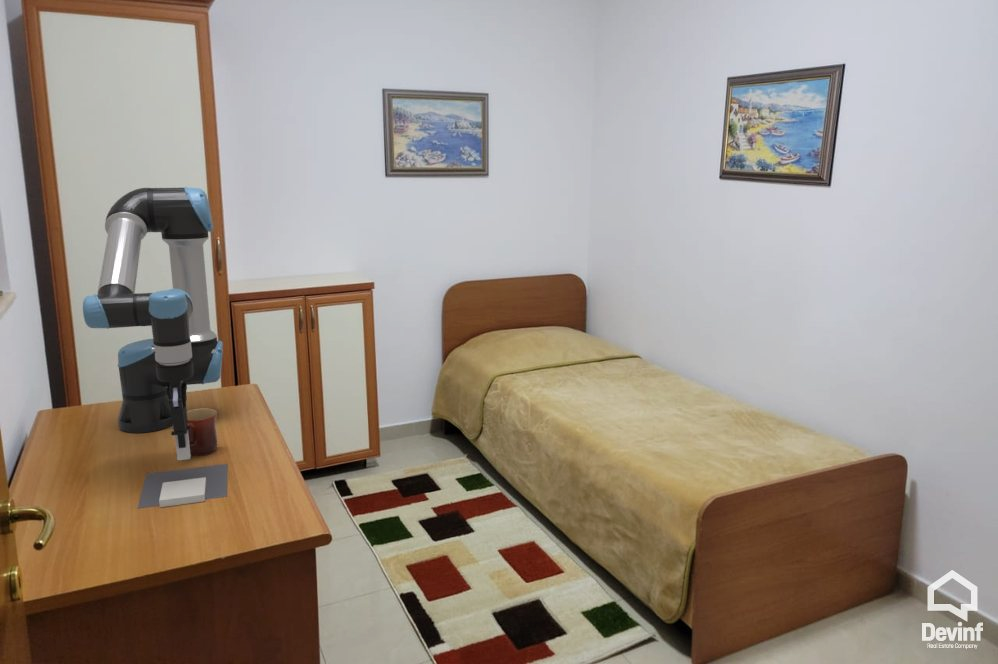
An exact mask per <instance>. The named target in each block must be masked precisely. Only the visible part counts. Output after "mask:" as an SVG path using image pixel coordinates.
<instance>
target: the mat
mask: <svg viewBox="0 0 998 664" xmlns="http://www.w3.org/2000/svg"><path fill="white" fill-rule="evenodd" d="M228 465H229V464H228V463H224V464H215V465H206V466H196V467H190V468H181V469H173V470H166V471H165V470H164V471H158V472H157V471H156V472H148V473H145V474H146V475H145V479H144V482H143V485H142V488H141V494H140V497H139V500H138V503H137V504H138V505H137V509H145V508H147V509H148V508H152V507H153V508H155V507H160V504H159V499H160V494H161V489H162V485H163V483H164V482H172V481H180V480H188V479H196V478H204V477H206V495H205V501H206V500H211V499H217V498H218V499H220V498H226V497H228V467H229V466H228Z"/></svg>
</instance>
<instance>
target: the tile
mask: <svg viewBox="0 0 998 664" xmlns="http://www.w3.org/2000/svg"><path fill="white" fill-rule="evenodd" d="M205 495H206V477H204V478H196V479H188V480H180V481H172V482H164V483H163V485H162V489H161V494H160V499H159V504H160V506H159V508H165V507H172V506H179V505H188V504H193V503H194V504H195V503H201V502H202V503H203V502H206V500H205Z"/></svg>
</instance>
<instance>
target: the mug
mask: <svg viewBox="0 0 998 664" xmlns="http://www.w3.org/2000/svg"><path fill="white" fill-rule="evenodd" d="M217 417H218V411H217V410H216V409H213V408H210V407H209V408H207V407H206V408H205V407H202V408H193V409H190V410H187V420H188V423H187V426H190V425H191V429H187V430H188V435H189V445H190V455H191V456H192V457H201V456H206V455H207V456H208V455H210V454H212V453H214V452H216V450H217V448H218V438H217V437H218V436H217V428H216V427H217V426H216V421H217Z"/></svg>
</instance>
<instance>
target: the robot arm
mask: <svg viewBox="0 0 998 664" xmlns="http://www.w3.org/2000/svg"><path fill="white" fill-rule="evenodd" d="M207 196H208V195H207V194H206V192H205V190H203V189H202V188H198V187H197V188H196V187H187V186H185V187H141V188H135V189H134V190H131V191H129V192H127V193H125V194H124V195H123V196H121V197H120V198H118V199H117V200H116V201H115V203H113V205H112V206H111V208H110V209H109V210H108V213H107V215H106V218H105V224H104V230H105V231H106V234H107V238H106V244H105V248H104V249H105V250H104V254H103V259H102V260H103V261H102V266H101V272H100V278H99V282H98V283H99V284H98V287H97V288H98V290H97V294H96V293H95V294H92V295H87V296H86V297H84V299H83V300H82V301H83V302H82V312H83V313H82V316H83V319H84V323H85V325H86V326H87V327H88V328H90V329H108V330H109V329H116V328H117V329H119V328H129V327H130V328H132V327H134V328H135V327H151V332H152V333H151V334H152V338H147V339H142V340H137V341H134V342H130V343H128V344H125V345H124V346H122V347H121V348H120V349H119V350H118V352H117V363H118V364H117V368H118V372H119V379H120V388H121V396H122V401H121V406H120V410H119V413H118V417H117V422H118V428H119V430H120V431H123V432H126V433H133V434H136V433H137V434H138V433H141V434H143V433H150V432H151V433H152V432H155V431H157V432H158V431H161V430H163V429H166V428H169V427H172V429H173V431H170V432H171V433H170V434H171V436H174V439H175V440H174V441H175V449H176V450H175V451H176V458H177V459H176V460H177V461H183V460H185V461H186V460H191V456H192V455H190V445H189V435H188V430H187V429H191V425H190V426H187V423H188V420H187V411H188V410H187V400H188V399H187V398H188V397H187V396H188V395H187V390H188V386H189V385H205V384H210V383H216V382H218V381H220V379H221V376H222V366H223V352H224V342H223V341H221V340H218V335H217V333H215V332H214V331H213V330H211V319H210V309H209V299H208V286H207V273H206V264H205V251H204V244H205V243H206V242H207V240H208V239H209V233H211V232H213V231H214V222H213V216H212V211H211V207H210V206H211V205H210V202H209V199H208V197H207ZM148 233H161V240H162V241H163V242H164V243H165V244H167V246H168V249H169V251H168V252H169V259H170V260H169V262H170V263H169V264H170V272H171V281H172V282H171V283H172V284H171V285H172V288H170V289H166V290H158V291H156V292H145V293H144V292H142V293H136V285H137V278H138V270H139V263H140V261H139V260H140V253H141V247H142V246H141V245H142V240H143V239H144V238H145V237H146V235H147V234H148Z"/></svg>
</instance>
